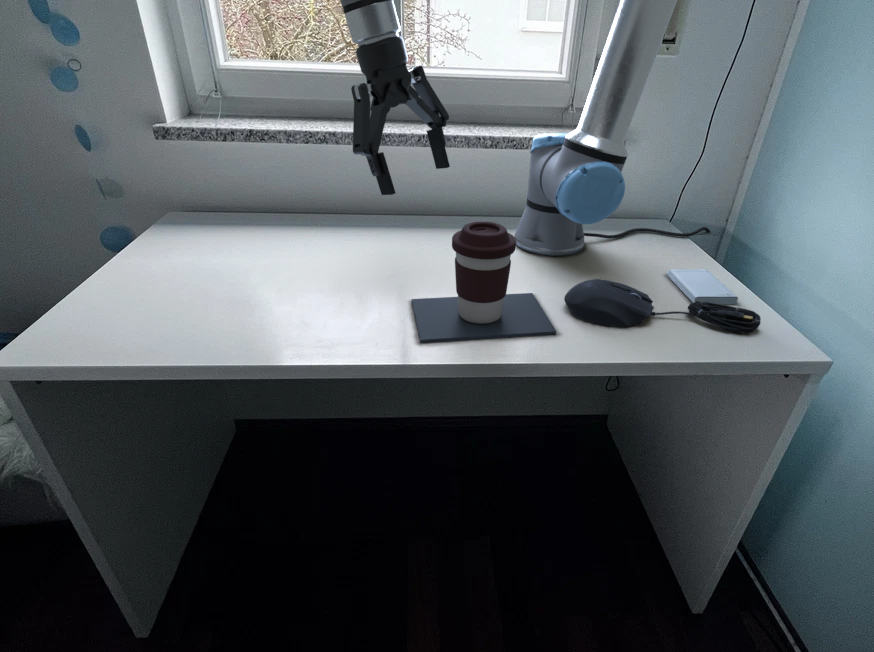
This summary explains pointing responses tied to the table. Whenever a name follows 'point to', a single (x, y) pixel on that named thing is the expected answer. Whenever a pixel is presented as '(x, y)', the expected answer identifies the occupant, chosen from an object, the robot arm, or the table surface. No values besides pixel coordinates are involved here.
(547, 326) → the mat
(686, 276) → the hard drive
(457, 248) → the coffee cup
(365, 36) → the robot arm
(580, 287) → the computer mouse
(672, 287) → the table surface
